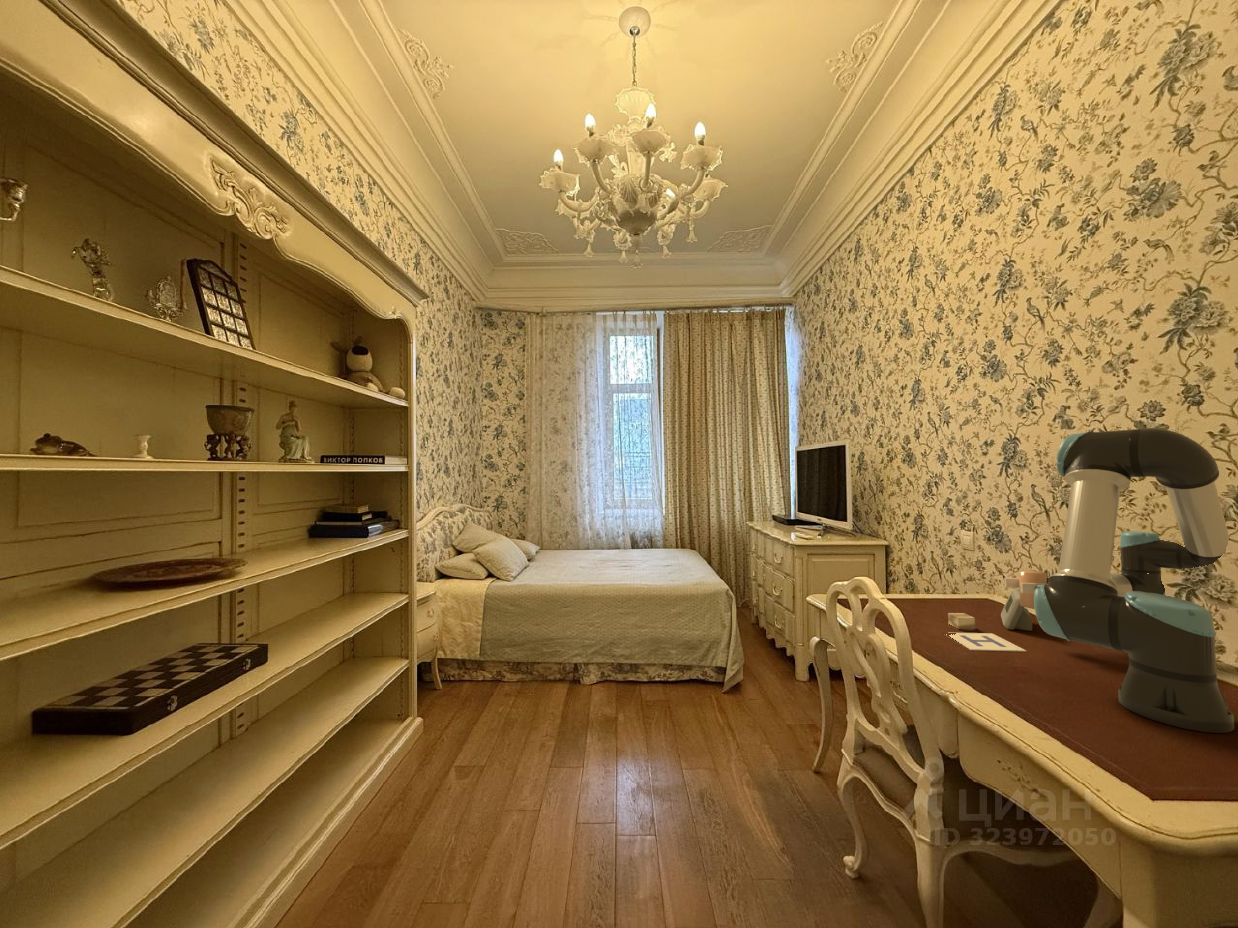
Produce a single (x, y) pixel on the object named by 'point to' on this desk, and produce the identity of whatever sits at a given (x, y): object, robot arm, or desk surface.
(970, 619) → the ash block
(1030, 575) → the terracotta canister
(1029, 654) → the desk surface
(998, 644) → the letter card
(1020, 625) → the digital clock
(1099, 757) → the desk surface
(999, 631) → the desk surface
